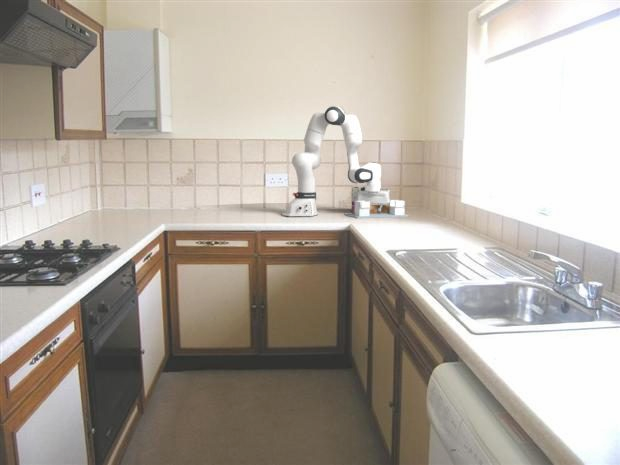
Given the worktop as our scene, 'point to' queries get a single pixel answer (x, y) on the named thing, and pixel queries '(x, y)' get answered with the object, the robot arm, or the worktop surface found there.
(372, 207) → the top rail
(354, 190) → the candy bar box
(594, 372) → the worktop surface
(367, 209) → the grey base with supports
